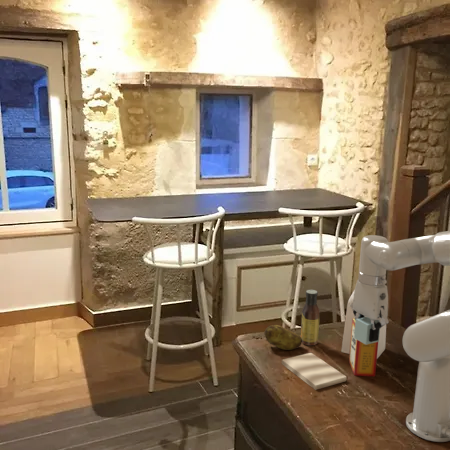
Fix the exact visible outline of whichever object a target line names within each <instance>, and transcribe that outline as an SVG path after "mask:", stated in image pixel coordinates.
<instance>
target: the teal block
mask: <svg viewBox="0 0 450 450" xmlns="http://www.w3.org/2000/svg"><path fill="white" fill-rule="evenodd" d="M376 323H377V320H376V321H375V324H376ZM370 329H371V319H370V318H368V317H363V318H359V319H356V321H355V333H354V338H355V339H357V340H359V341H360V342H362V343H364V344H366V345H367V344H371V343H375V342H379V338H378V340H377V341H373V342H370V341H369V334H370ZM379 334H380V329H379Z"/></svg>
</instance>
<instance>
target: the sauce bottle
mask: <svg viewBox="0 0 450 450" xmlns="http://www.w3.org/2000/svg"><path fill="white" fill-rule="evenodd" d="M317 297H318V291H317V290H315V289H306V291H305V298H306V299H305V303H304V306H303V308H302V310H301V322H300V323H301V325H300V327H301V329H300V337H301V339H302V343H301V344H303V345H305V346H310V347H313V346H316V345H317V344H318V340H319V331H320V330H319V328H320V308H319V306H318V304H317V303H318V302H317V301H318V299H317Z"/></svg>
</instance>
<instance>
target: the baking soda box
mask: <svg viewBox="0 0 450 450" xmlns="http://www.w3.org/2000/svg"><path fill="white" fill-rule="evenodd" d="M354 333H355V318H352V329H351V341H350V354H348V363H349V366H350V368H351V370H352V373H353V375H354V376H355V377H359V376H360V377H376V370H377V362H378V361H377V360H378V358H377V351H378V342H375V343H371V344H367V345H366V344H364V343H362V342H360V341H359V340H357V339H355V338H354Z"/></svg>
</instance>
